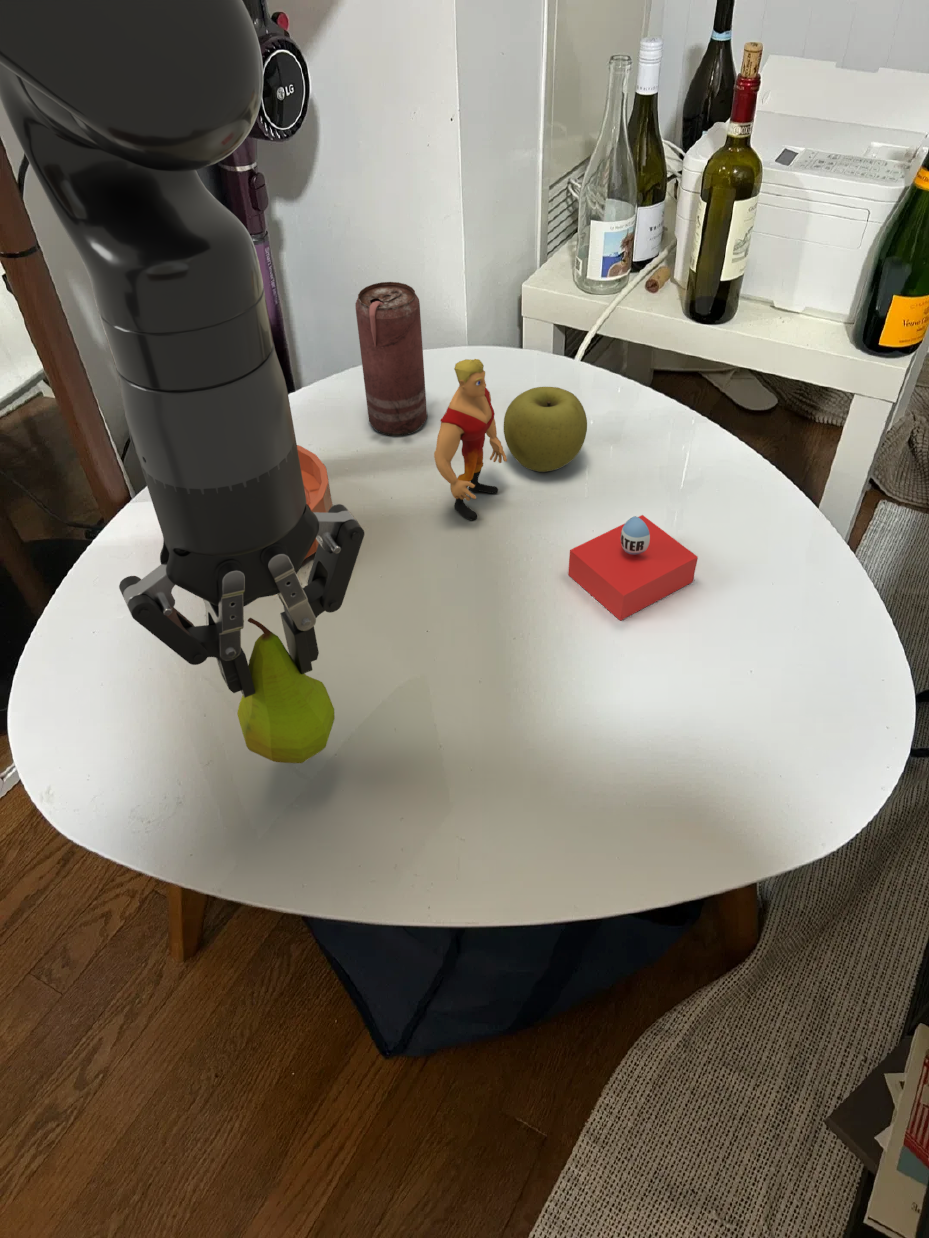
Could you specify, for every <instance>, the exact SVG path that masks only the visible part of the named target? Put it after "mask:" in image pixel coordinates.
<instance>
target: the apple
mask: <svg viewBox="0 0 929 1238" xmlns="http://www.w3.org/2000/svg"><path fill="white" fill-rule="evenodd" d="M587 432H588V417H587V413H586V409H584V406H583V404H582V402H581V400H580V399H579V398H578V397H577V396H576V395H575V394H574V393H572V392H571V391H569V390H566V389H564V388H560V387H557V386H538V387H532V388H530V389H528V390H525V391H523V392H522V393H519V394H518V395H517V396H516V397H515V398H514V399H513V400H511V402H510V403H509V405H508V407H507V409H506V411H505V413H504V417H503V436H504V440H505V443H506V446H507V448H508V450H509V452H510V454H511V455H512V457H513V458H514V459H515V460H516V461H517V462H518V464H520V465H521V466H523V467H524V468H526V469H528V470H531V471H534V472H539V473H541V472H542V473H545V472H546V473H547V472H552V471H555V470H558V469H561V468H563V467H565V466H567V465H568V464H569V463H571V462H572V461H573V460H574V459H575V458H576V457H577V455H578V454H579V453H580V451H581V449H582V448H583V446H584V443H585V440H586V437H587Z"/></svg>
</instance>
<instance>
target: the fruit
mask: <svg viewBox="0 0 929 1238" xmlns="http://www.w3.org/2000/svg"><path fill="white" fill-rule="evenodd" d="M247 622H248V623H250V624H252V625H254V626H256V627H257V628H258V629H259V630H261V631H262V634H260V636H259V637H257V639H256V640H255V641H254V645H253V648H252V650H251V654H250V657H249V660H248V666H249V670H250V674H251V677H252V681H253V685H254V689H255V694H253V695H251V696H248V697H246V698H244V696H243V695H242V694H241V698H240V701H239V704H238V708H237V715H236V716H237V718H238V722H239V727H240V729H241V732H242V736H243V739H244V741H245V743H244V744H245V746H246V748H247V750H249V751H250V752H252V753H255V754H256V755H258V756H260V757H263V758H265V759H267V760H269V761H272V762H274V763H281V764H282V763H283V764H303V763H305V762H306V761H308V760H309V759H312V757H315V756H316V755H317V754H319V753H320V752H322V751H323V750H325V748H326V747H327V745H328V741H329V738H330V735H331V732H332V729H333V725H334V723H335V722H334V721H335V718H336V717H335V707H334V704H333V702H332V700H331V697H330V695H329V692H328V690H327V687H326V686H325V684H324V683H323V681H321V680H319V679H316V678H314V677H311V676H309V675H307V674H306V673H304V674H301V673H300V671H299V669H298V667H297V666H296V664H295V662H294V660H293V659H292V657H291V656H290V654H289V651H288V649H287V648H286V647H285V645H284V643H283V641H282V640H281V638H280V636H278V635H277V634H275V633H274V632H272V631H271V630H270V629H268V627H266V626H265V625H264V624H262V623H261V622H259V621H258V620H256V619H254V618H252V617H249V618H247Z"/></svg>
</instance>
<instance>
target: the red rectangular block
mask: <svg viewBox="0 0 929 1238" xmlns="http://www.w3.org/2000/svg"><path fill="white" fill-rule="evenodd" d="M698 558H699V556H698V555H696V554H694V552H692V551H691V550H690V549H688V548H687V547H686V546H684V545H683V544H682V543H681V542H679V541H678V540H676V539H675V538H674V537H672V536H671V535H670V534H669V533H667V532H666V531H664V530H663V529H662V528H661V527H659V526H658V525H657V524H655V523H654V522H653V521H652V520H650V519H649V518H647V516H645V515H643V514H641V515H639V516H637V515H636V516H635V515H634V516H632V517H630V518H629V519H628V520H627V521H626V522H624V523H623V524H621V525H618V526H616V527H614V528H613V529H611V530H608V531H606V532H604V533H602V534H599V535H598V536H596V537H594V538H591V539H590V540H588V541H585V542H583V543H581V544H579V545H577V546H575V547H573V548H571V549H570V550H569V558H568V571H567V575H568V577H570V578H571V579H572V580H574V582H575V583H577V584H578V585H579V586H580V587H581V588H583V589H584V590H585V592H587V593H588V594H589V595H590V596H591V597H593V598H594V599H595V600H596V601H597V602H598V603H600V605H602V606H603V607H604V608H605V609H606V610H607V611H609V612H610V613H611V614H612V615H613V616H614V617H615V618H616V619H618V620H619V621H622V620H625V619H626V618H628V617H630V616H632V615H634V614H635V613H637V612H639V611H641V610H643V609H646V608H647V607H649V606H651V605H652V604H654V603H656V602H658V601H660V600H662V599H664V598H665V597H667V596H670V595H671V594H673V593H675V592H677V591H678V590H680V589H682V588H685V587H686V586H688V585H689V584H692V583H693V582H694V578H695V573H696V570H697V569H696V568H697V563H698Z"/></svg>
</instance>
